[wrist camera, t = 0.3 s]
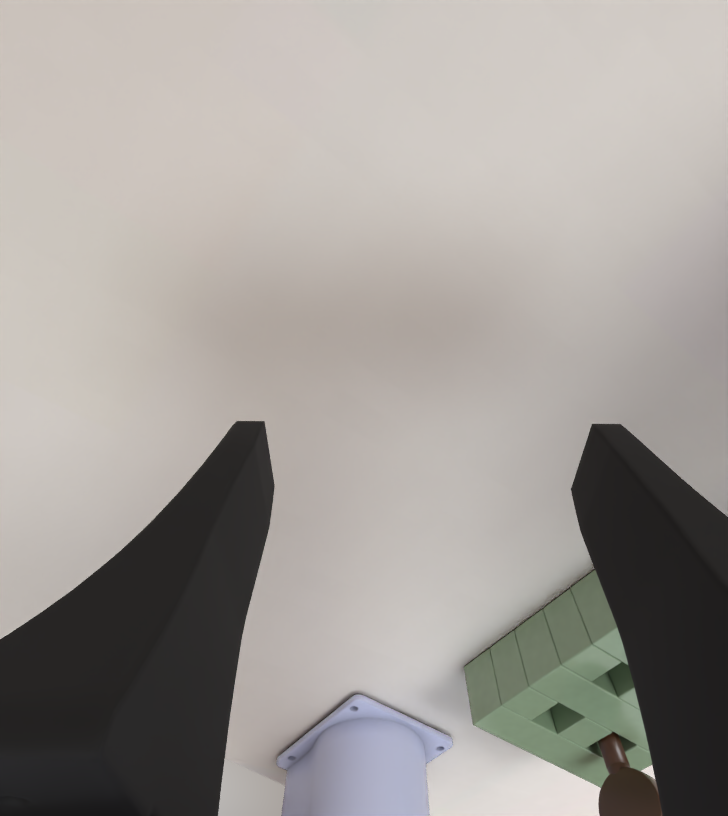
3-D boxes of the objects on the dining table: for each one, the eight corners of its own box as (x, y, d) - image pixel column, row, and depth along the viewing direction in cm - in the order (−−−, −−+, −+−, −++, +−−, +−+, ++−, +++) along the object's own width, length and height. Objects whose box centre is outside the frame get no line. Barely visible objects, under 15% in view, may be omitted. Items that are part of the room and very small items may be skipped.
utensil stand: (585, 731, 36) (605, 790, 33) (463, 666, 33) (472, 725, 30) (794, 606, 30) (842, 665, 27) (668, 513, 27) (706, 567, 24)
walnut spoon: (619, 677, 33) (689, 843, 26) (574, 705, 34) (628, 870, 27) (606, 669, 33) (672, 834, 25) (560, 698, 34) (611, 862, 27)
